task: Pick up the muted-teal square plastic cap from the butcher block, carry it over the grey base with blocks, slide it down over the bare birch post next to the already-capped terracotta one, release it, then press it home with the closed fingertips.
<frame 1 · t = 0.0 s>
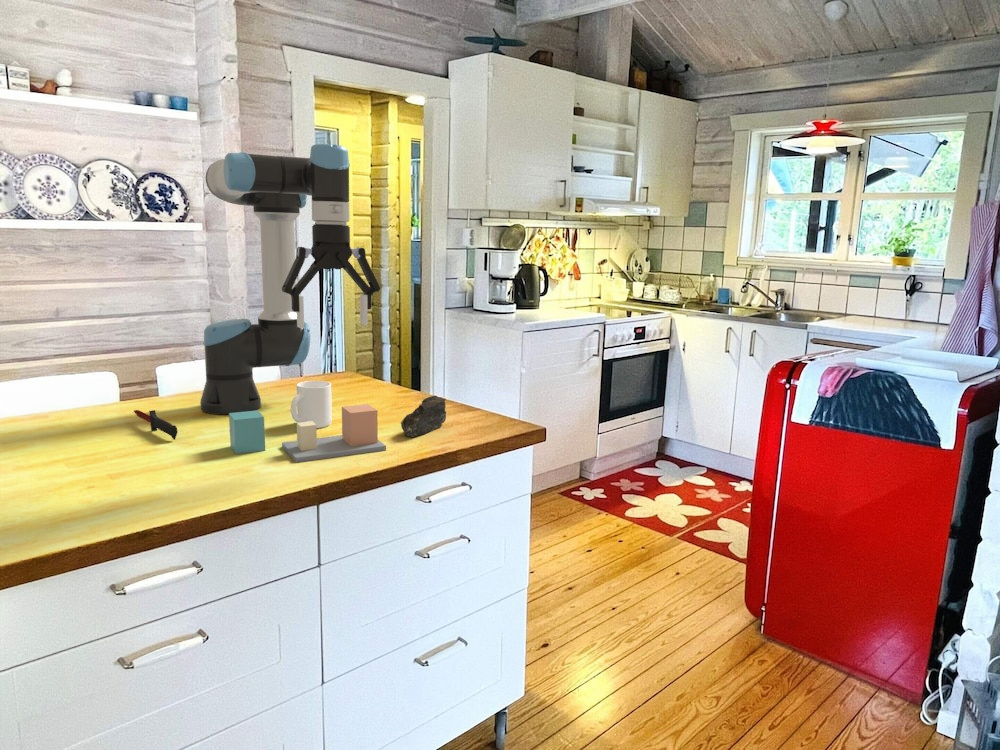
hand: (332, 326, 150), 28 cm above the countertop, fingers open, 13 cm apart
knife: (153, 431, 168), on the countertop
stone: (423, 431, 175), on the countertop
mug: (309, 426, 176), on the countertop
grey base with blocks: (307, 451, 156), on the countertop
cap: (247, 448, 157), on the countertop
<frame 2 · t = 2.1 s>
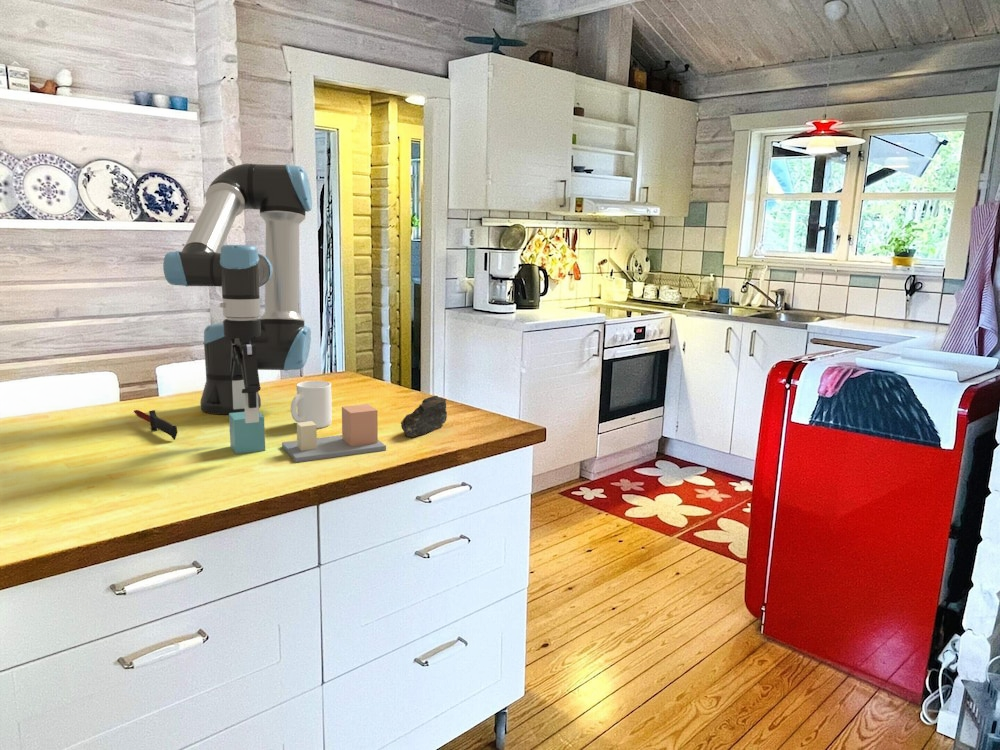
hand: (245, 415, 155), 8 cm above the countertop, fingers open, 13 cm apart
nothing on the countertop moved.
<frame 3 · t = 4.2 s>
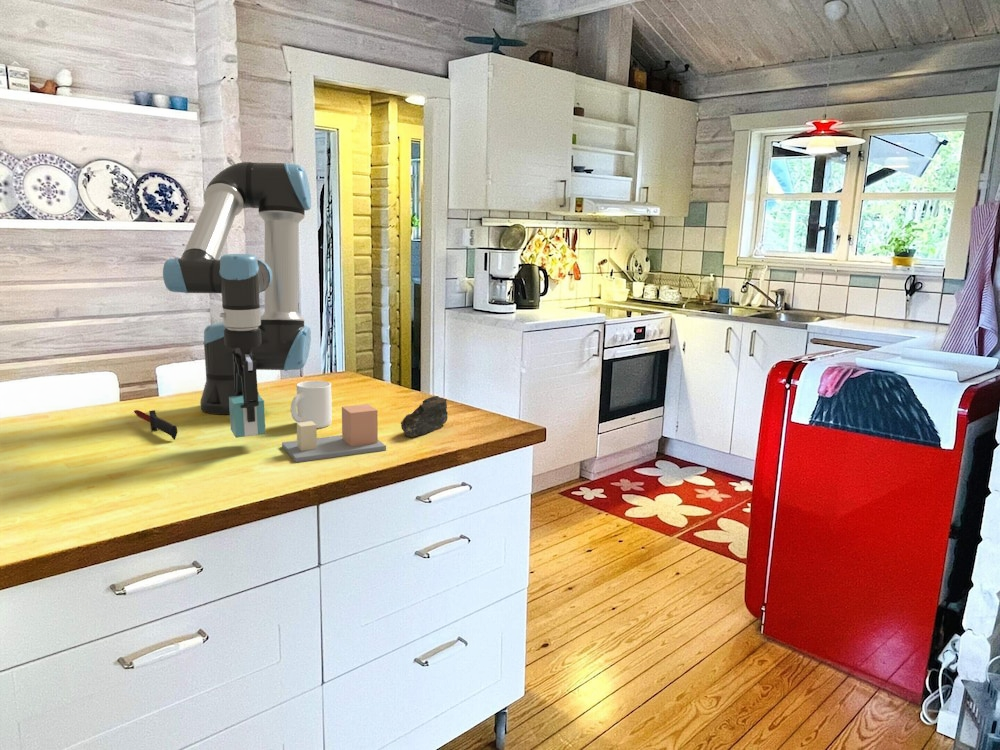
hand: (247, 430, 157), 4 cm above the countertop, fingers closed on cap, 6 cm apart
cap: (247, 431, 157), point 4 cm above the countertop, touching gripper
everything else where it was.
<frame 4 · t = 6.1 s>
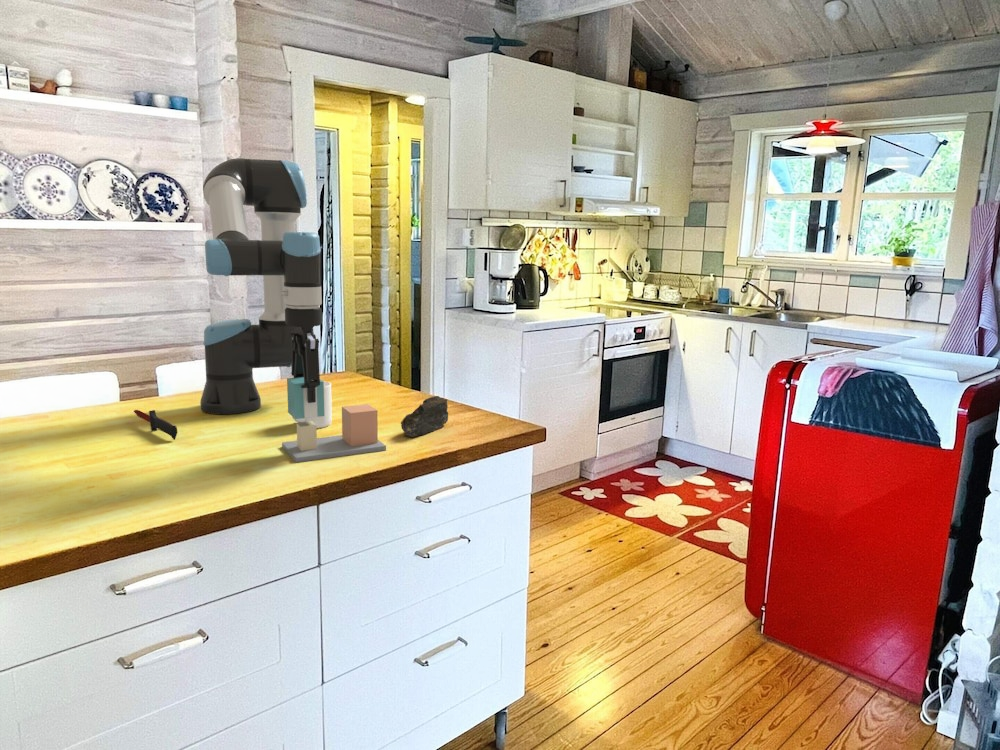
hand: (306, 413, 154), 9 cm above the countertop, fingers closed on cap, 6 cm apart
cap: (306, 414, 154), point 9 cm above the countertop, touching gripper
everything else where it was.
when the fingers open (2 cm above the countertop, at t = 7.9 s): cap stays where it is, resting on grey base with blocks.
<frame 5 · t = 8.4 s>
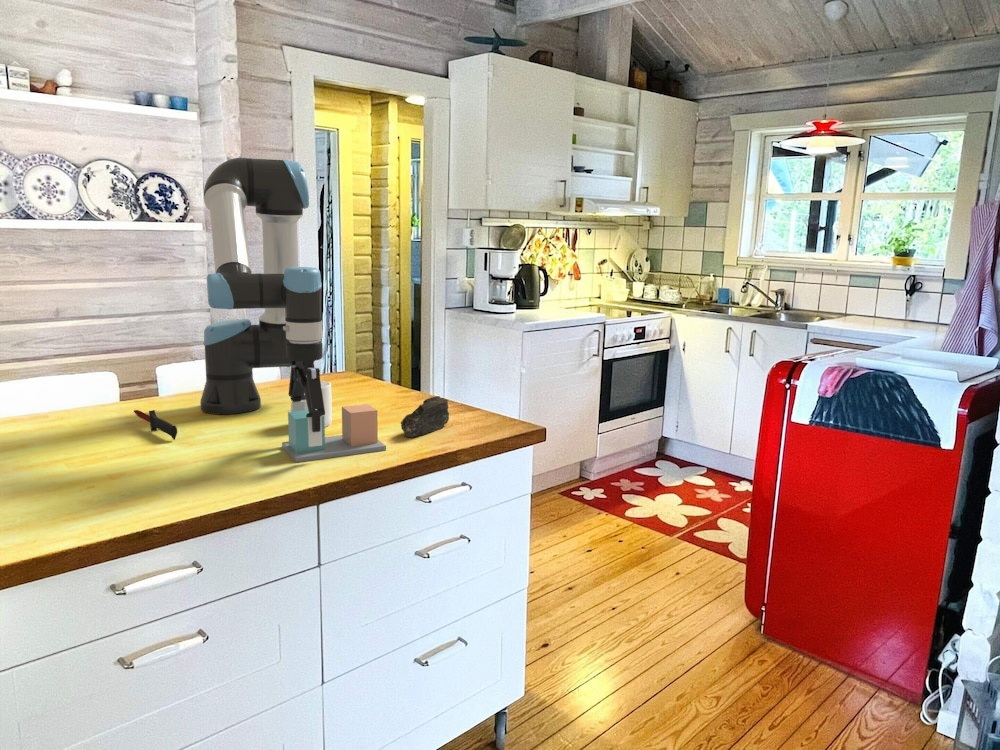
hand: (306, 437, 155), 3 cm above the countertop, fingers open, 13 cm apart
cap: (306, 447, 156), point 1 cm above the countertop, touching grey base with blocks
everything else where it was.
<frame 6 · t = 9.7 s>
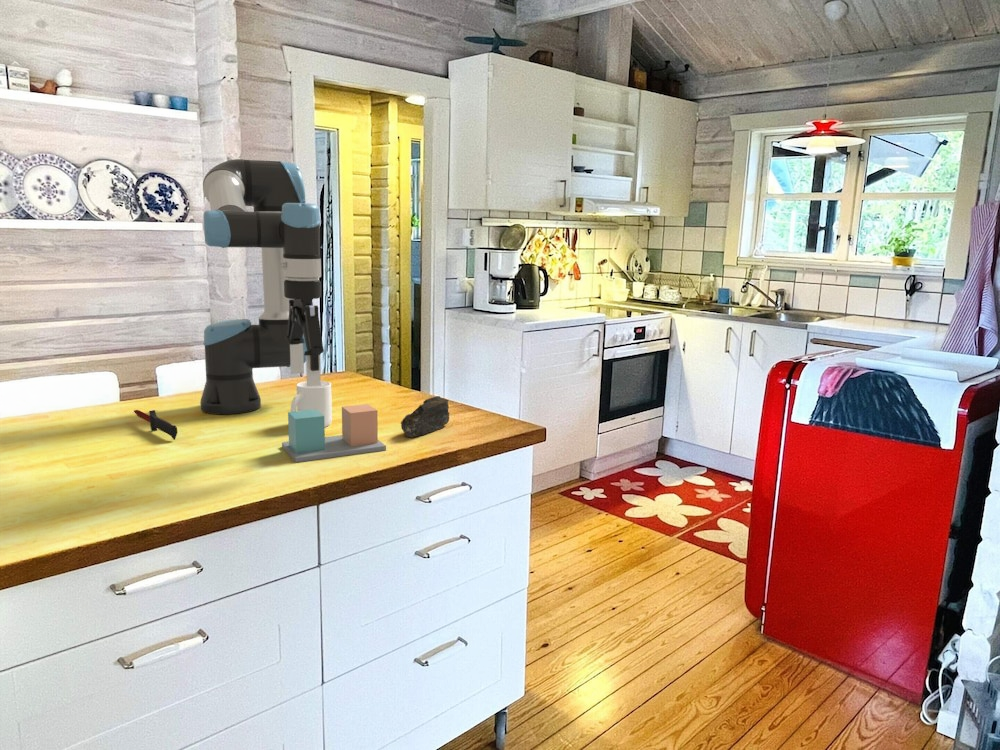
hand: (305, 379, 153), 16 cm above the countertop, fingers open, 12 cm apart
nothing on the countertop moved.
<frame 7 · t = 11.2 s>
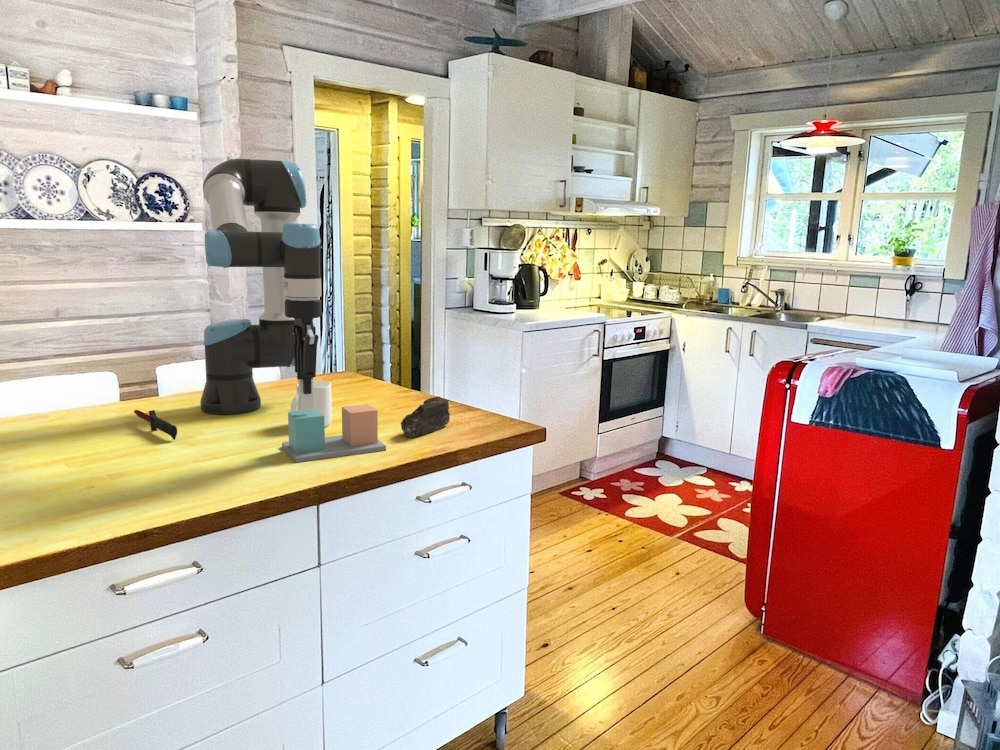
hand: (306, 407, 154), 10 cm above the countertop, fingers closed
nothing on the countertop moved.
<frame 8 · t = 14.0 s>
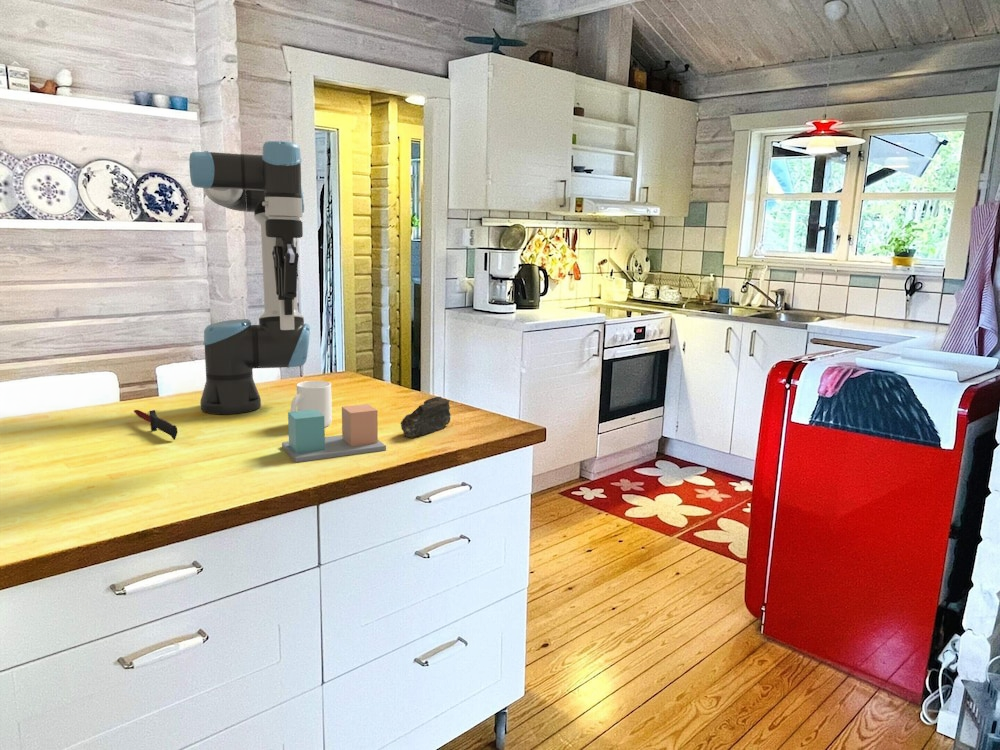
hand: (287, 329, 155), 26 cm above the countertop, fingers closed
nothing on the countertop moved.
at the end: cap 0.0 cm from the target spot, point 1.0 cm above the countertop; cap tilted 0°; the gripper is holding nothing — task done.
